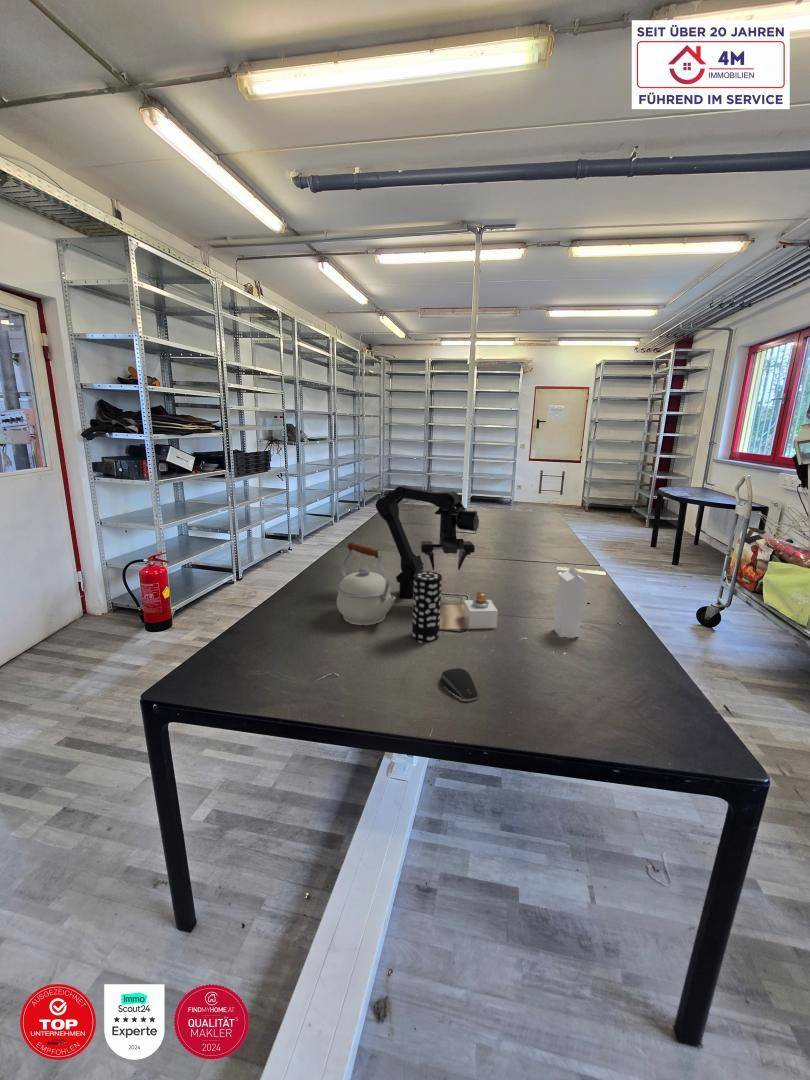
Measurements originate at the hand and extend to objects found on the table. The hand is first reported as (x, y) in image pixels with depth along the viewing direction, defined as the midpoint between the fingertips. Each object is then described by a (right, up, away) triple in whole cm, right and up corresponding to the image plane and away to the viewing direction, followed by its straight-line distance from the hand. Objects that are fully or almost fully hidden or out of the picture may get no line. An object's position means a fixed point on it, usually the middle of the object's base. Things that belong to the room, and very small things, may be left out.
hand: (446, 569), depth 158 cm
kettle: (-27, -16, -10) cm, 33 cm away
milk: (+36, -19, -18) cm, 45 cm away
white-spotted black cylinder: (-8, -19, -22) cm, 31 cm away
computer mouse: (-1, -27, -48) cm, 55 cm away
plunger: (+10, -16, -13) cm, 22 cm away
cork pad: (+5, -16, -8) cm, 18 cm away
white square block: (+10, -16, -13) cm, 23 cm away
